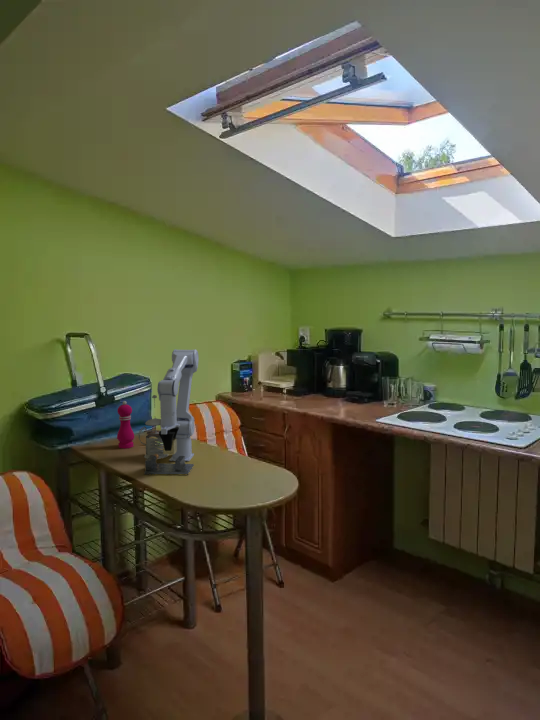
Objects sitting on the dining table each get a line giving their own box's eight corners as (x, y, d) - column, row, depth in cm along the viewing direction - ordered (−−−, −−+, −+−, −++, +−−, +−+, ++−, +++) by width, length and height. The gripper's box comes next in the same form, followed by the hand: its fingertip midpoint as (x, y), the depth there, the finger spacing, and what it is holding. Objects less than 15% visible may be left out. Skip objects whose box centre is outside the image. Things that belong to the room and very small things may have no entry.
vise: (152, 465, 203) (151, 454, 202) (193, 466, 202) (193, 454, 201) (144, 474, 193) (143, 462, 192) (187, 475, 192) (187, 462, 191)
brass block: (166, 451, 198) (165, 438, 198) (176, 451, 198) (176, 438, 198) (163, 454, 194) (162, 440, 194) (174, 454, 194) (173, 441, 194)
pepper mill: (116, 445, 231) (114, 400, 229) (133, 443, 234) (131, 399, 232) (118, 449, 225) (117, 403, 223) (136, 447, 228) (134, 401, 226)
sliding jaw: (154, 460, 206) (154, 451, 205) (159, 460, 205) (159, 451, 205) (145, 470, 194) (145, 460, 194) (150, 470, 194) (150, 460, 194)
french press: (170, 457, 213) (169, 396, 210) (141, 461, 209) (139, 398, 206) (166, 451, 222) (164, 392, 220) (137, 454, 218) (135, 394, 215)
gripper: (174, 416, 187) (175, 454, 189) (183, 408, 202) (184, 443, 203) (154, 416, 188) (155, 454, 189) (165, 408, 202) (166, 443, 204)
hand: (169, 448), depth 196 cm, fingers closed on brass block, 4 cm apart
